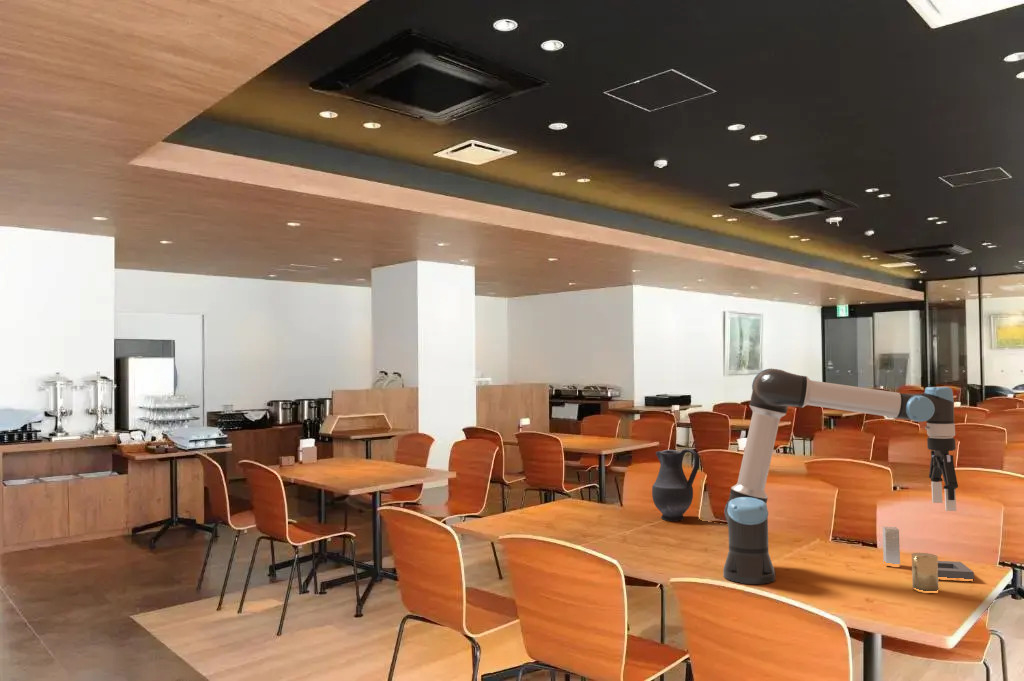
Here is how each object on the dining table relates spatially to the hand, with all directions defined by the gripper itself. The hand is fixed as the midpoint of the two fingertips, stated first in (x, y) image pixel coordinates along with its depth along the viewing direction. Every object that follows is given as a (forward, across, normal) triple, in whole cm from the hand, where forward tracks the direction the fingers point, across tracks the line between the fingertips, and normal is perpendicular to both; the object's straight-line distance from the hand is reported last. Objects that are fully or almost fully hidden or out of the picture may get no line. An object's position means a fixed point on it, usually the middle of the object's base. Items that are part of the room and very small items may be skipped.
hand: (943, 506), depth 230 cm
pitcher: (+20, -70, -83) cm, 111 cm away
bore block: (+21, 0, 0) cm, 21 cm away
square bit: (+21, -9, -13) cm, 26 cm away
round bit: (+21, +18, -10) cm, 29 cm away
